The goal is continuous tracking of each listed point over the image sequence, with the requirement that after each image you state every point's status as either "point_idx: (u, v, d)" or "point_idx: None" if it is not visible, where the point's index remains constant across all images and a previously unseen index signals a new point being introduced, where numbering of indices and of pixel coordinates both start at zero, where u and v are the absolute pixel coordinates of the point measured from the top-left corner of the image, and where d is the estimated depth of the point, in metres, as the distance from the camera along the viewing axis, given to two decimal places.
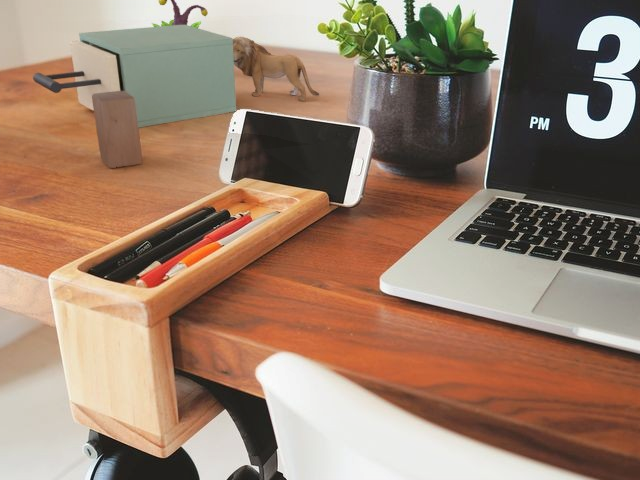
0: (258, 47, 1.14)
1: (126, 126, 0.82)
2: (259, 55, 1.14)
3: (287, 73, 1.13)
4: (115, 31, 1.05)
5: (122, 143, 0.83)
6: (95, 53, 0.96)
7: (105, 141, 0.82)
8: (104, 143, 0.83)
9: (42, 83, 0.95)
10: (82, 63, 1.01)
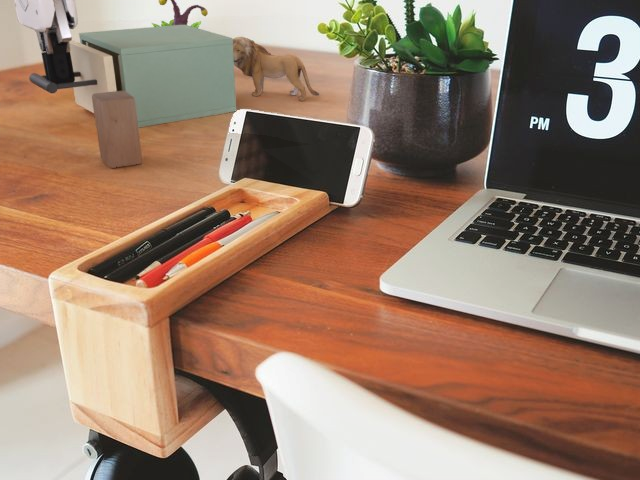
0: (258, 47, 1.14)
1: (126, 126, 0.82)
2: (259, 55, 1.14)
3: (287, 73, 1.13)
4: (115, 31, 1.05)
5: (122, 143, 0.83)
6: (91, 53, 0.96)
7: (105, 141, 0.82)
8: (104, 143, 0.83)
9: (38, 83, 0.95)
10: (78, 64, 1.01)
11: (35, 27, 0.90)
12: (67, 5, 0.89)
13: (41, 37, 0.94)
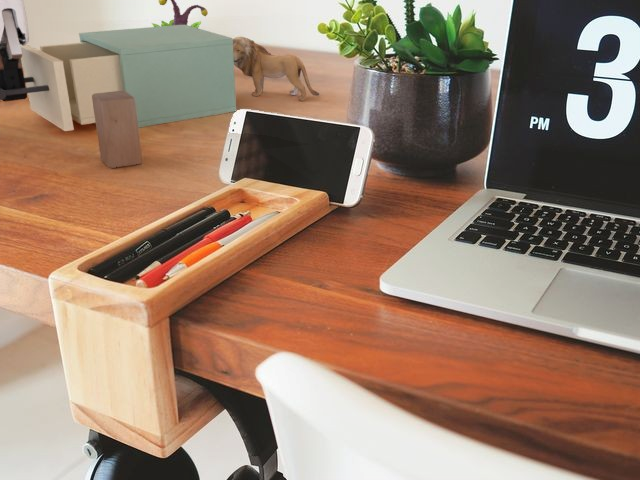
0: (258, 47, 1.14)
1: (126, 126, 0.82)
2: (259, 55, 1.14)
3: (287, 73, 1.13)
4: (115, 31, 1.05)
5: (122, 143, 0.83)
6: (42, 58, 0.92)
7: (105, 141, 0.82)
8: (104, 143, 0.83)
9: None
10: (31, 69, 0.97)
11: None
12: (18, 21, 0.87)
13: None
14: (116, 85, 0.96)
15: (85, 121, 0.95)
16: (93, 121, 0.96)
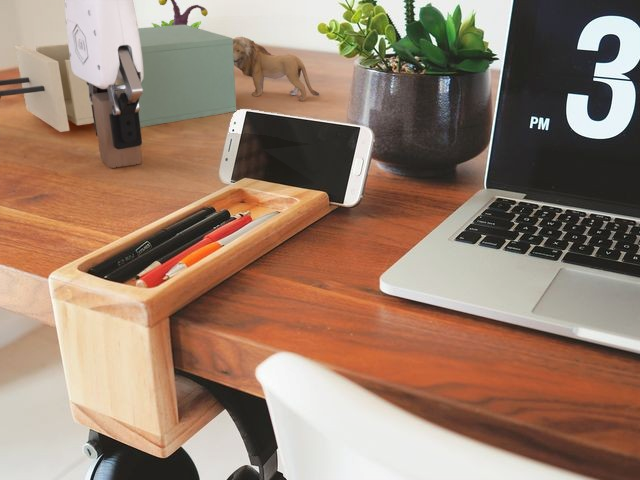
0: (258, 47, 1.14)
1: None
2: (259, 55, 1.14)
3: (287, 73, 1.13)
4: None
5: None
6: (38, 59, 0.92)
7: (105, 141, 0.82)
8: (104, 143, 0.83)
9: None
10: (26, 69, 0.97)
11: (95, 83, 0.78)
12: (133, 59, 0.77)
13: (94, 90, 0.83)
14: None
15: (81, 122, 0.95)
16: (89, 122, 0.96)
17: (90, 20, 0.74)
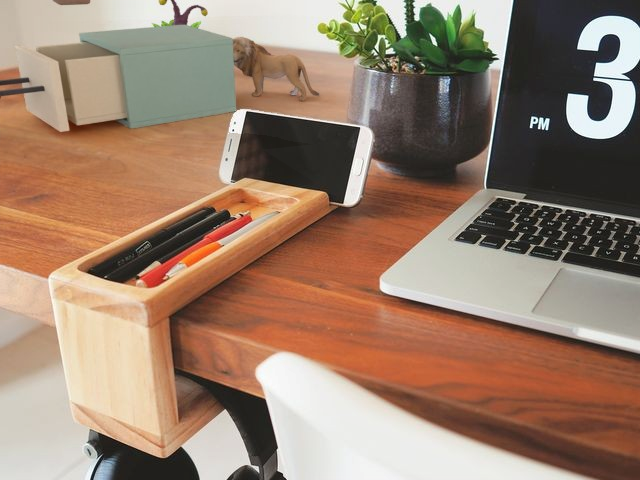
0: (258, 47, 1.14)
1: None
2: (259, 55, 1.14)
3: (287, 73, 1.13)
4: (115, 31, 1.05)
5: None
6: (38, 59, 0.92)
7: None
8: None
9: None
10: (26, 69, 0.97)
11: None
12: None
13: None
14: (112, 86, 0.96)
15: (81, 122, 0.95)
16: (89, 122, 0.96)
17: None
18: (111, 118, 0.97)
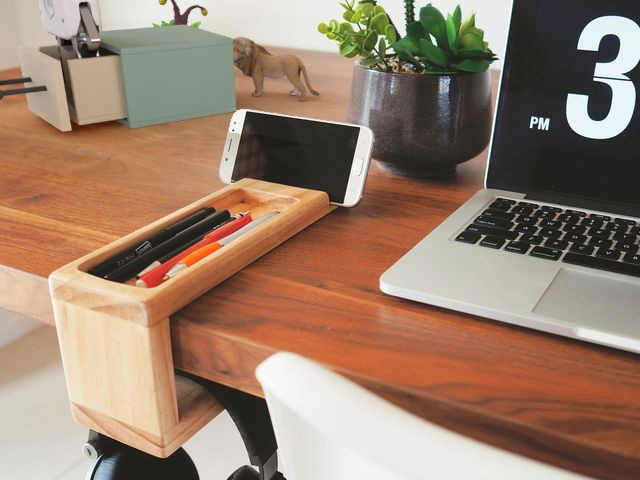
0: (258, 47, 1.14)
1: None
2: (259, 55, 1.14)
3: (287, 73, 1.13)
4: (115, 31, 1.05)
5: None
6: (40, 58, 0.92)
7: None
8: (70, 88, 0.97)
9: None
10: (28, 69, 0.97)
11: (61, 35, 0.92)
12: (92, 14, 0.92)
13: (61, 43, 0.98)
14: (114, 86, 0.96)
15: (83, 121, 0.95)
16: (91, 121, 0.96)
17: None
18: (113, 118, 0.97)
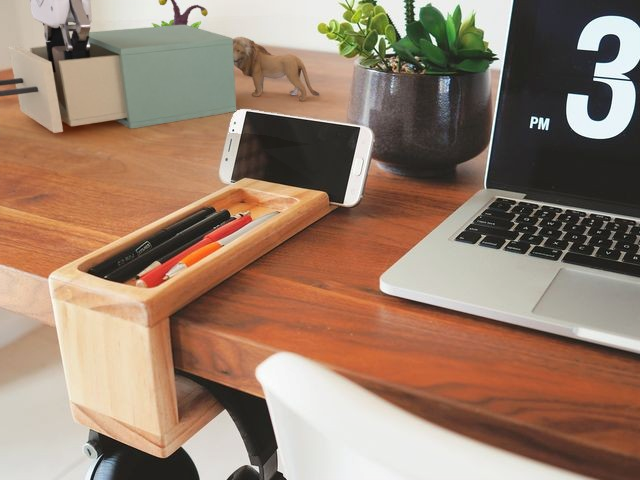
0: (258, 47, 1.14)
1: None
2: (259, 55, 1.14)
3: (287, 73, 1.13)
4: (115, 31, 1.05)
5: None
6: (31, 59, 0.91)
7: None
8: (62, 89, 0.97)
9: None
10: (20, 70, 0.96)
11: (49, 23, 0.91)
12: (82, 3, 0.90)
13: (48, 30, 0.97)
14: (106, 87, 0.95)
15: (75, 123, 0.94)
16: (83, 123, 0.95)
17: None
18: (105, 119, 0.97)
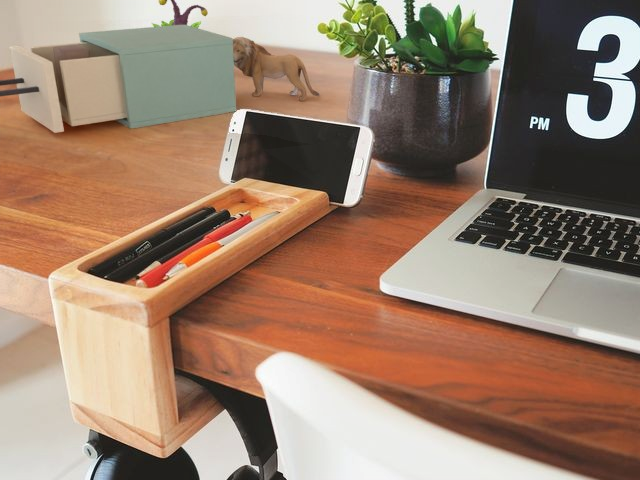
0: (258, 47, 1.14)
1: None
2: (259, 55, 1.14)
3: (287, 73, 1.13)
4: (115, 31, 1.05)
5: None
6: (32, 59, 0.91)
7: None
8: (63, 89, 0.97)
9: None
10: (21, 70, 0.96)
11: None
12: None
13: None
14: (107, 87, 0.95)
15: (75, 122, 0.94)
16: (84, 122, 0.95)
17: None
18: (106, 119, 0.97)
